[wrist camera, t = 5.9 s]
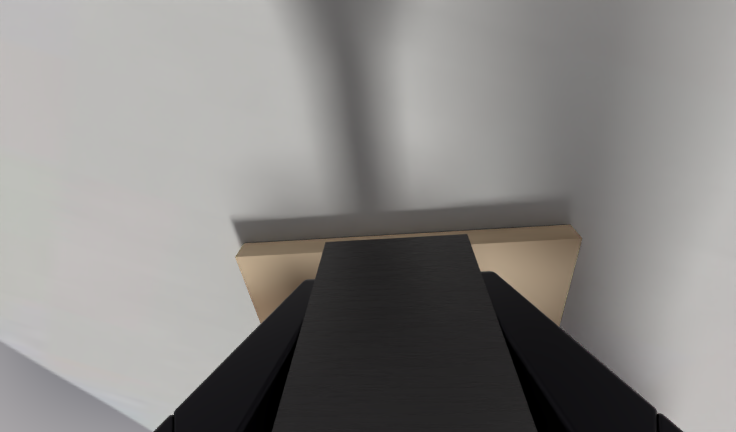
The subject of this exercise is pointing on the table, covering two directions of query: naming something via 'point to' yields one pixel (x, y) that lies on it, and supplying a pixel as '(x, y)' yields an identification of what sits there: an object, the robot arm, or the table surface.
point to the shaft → (401, 344)
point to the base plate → (491, 246)
